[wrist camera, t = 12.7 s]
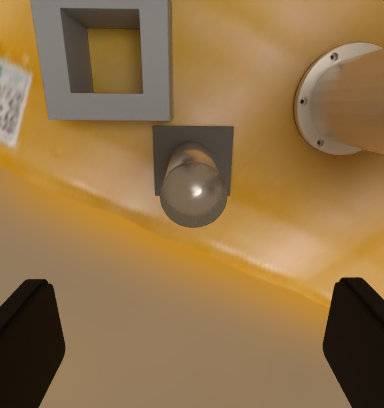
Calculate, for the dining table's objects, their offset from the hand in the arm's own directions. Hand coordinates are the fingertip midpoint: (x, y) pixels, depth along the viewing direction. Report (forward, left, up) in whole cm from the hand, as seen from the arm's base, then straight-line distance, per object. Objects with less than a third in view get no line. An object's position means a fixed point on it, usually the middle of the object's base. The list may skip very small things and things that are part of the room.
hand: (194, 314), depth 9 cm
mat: (0, +1, -29) cm, 29 cm away
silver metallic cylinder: (0, +1, -28) cm, 28 cm away
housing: (+8, -11, -29) cm, 32 cm away
